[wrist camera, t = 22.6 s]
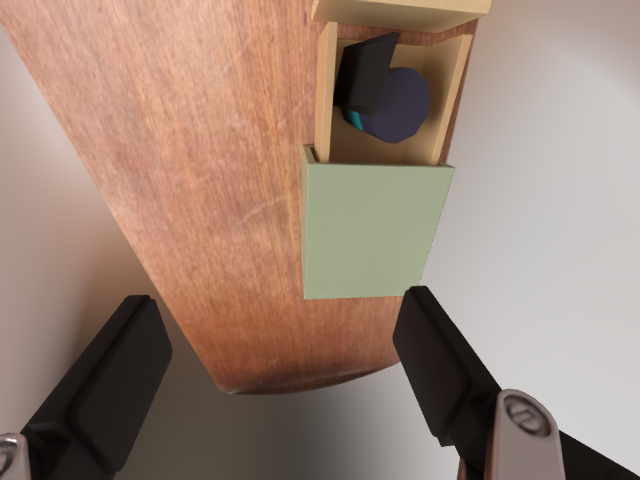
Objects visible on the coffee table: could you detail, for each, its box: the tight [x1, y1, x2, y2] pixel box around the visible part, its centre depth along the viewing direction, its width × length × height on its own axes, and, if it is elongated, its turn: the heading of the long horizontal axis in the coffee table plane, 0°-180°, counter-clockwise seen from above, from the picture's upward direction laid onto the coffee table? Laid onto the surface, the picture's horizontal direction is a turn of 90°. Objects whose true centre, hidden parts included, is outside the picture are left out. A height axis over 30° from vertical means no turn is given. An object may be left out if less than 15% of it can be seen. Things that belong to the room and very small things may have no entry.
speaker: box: [333, 32, 431, 144], centre depth 24 cm, size 8×6×10 cm
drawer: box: [312, 0, 492, 165], centre depth 25 cm, size 21×13×8 cm, turn 177°
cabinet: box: [301, 145, 455, 299], centre depth 33 cm, size 17×15×10 cm
